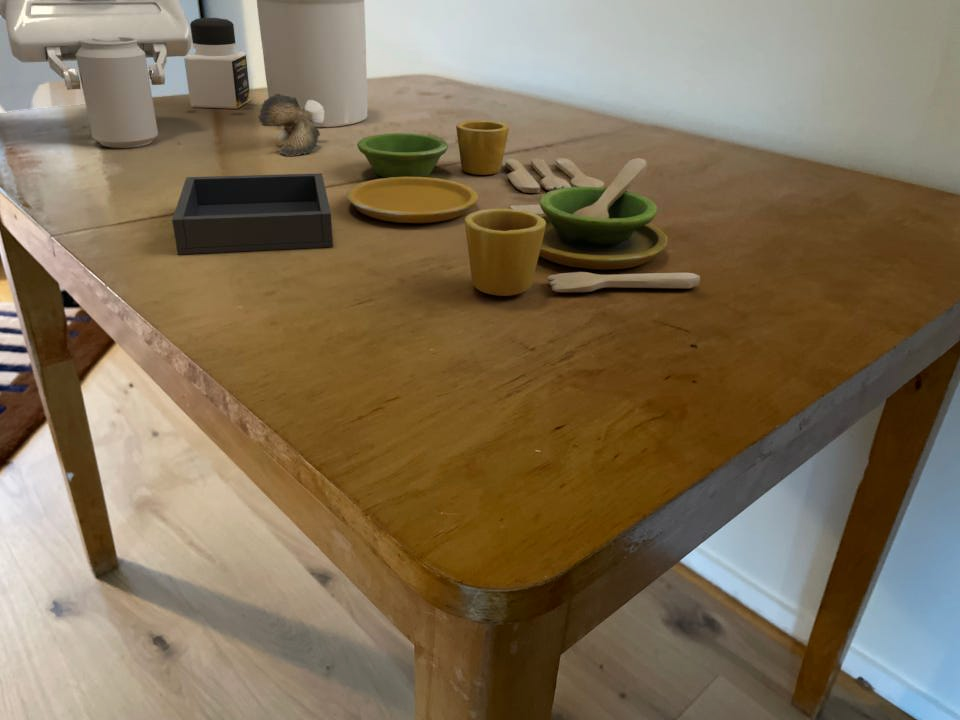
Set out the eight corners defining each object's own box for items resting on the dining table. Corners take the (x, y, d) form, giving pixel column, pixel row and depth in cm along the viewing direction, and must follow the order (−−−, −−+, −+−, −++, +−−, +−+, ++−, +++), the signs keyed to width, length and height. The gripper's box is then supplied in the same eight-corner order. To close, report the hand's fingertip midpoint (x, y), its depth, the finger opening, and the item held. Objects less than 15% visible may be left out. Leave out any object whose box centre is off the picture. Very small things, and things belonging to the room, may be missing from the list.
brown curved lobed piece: (257, 128, 100) (244, 131, 91) (285, 80, 98) (274, 77, 90) (309, 162, 102) (301, 168, 93) (338, 115, 100) (332, 116, 92)
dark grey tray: (177, 254, 64) (172, 219, 63) (190, 207, 75) (186, 177, 73) (332, 247, 67) (330, 213, 65) (324, 203, 78) (322, 173, 76)
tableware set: (715, 298, 60) (731, 219, 57) (350, 311, 56) (345, 226, 53) (574, 160, 96) (579, 107, 93) (345, 162, 91) (342, 106, 88)
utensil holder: (322, 134, 104) (313, -12, 95) (243, 118, 110) (228, -19, 102) (391, 116, 115) (388, -15, 106) (315, 103, 121) (307, -22, 113)
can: (170, 143, 96) (154, 39, 91) (110, 152, 92) (89, 43, 86) (141, 132, 101) (124, 32, 95) (83, 141, 96) (61, 36, 90)
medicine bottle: (238, 109, 116) (228, 21, 110) (190, 107, 116) (177, 19, 110) (251, 100, 122) (242, 17, 116) (205, 98, 122) (194, 15, 116)
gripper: (-14, -33, 88) (14, 71, 85) (175, -31, 97) (205, 63, 95) (-5, 7, 93) (22, 106, 91) (172, 5, 103) (201, 94, 100)
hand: (117, 84), depth 93 cm, fingers open, 8 cm apart
